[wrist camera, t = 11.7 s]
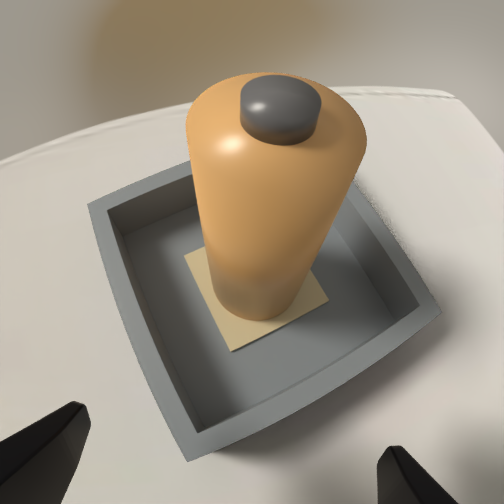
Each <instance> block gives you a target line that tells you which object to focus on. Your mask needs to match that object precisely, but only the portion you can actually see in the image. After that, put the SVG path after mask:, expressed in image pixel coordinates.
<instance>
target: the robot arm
mask: <svg viewBox="0 0 504 504" xmlns="http://www.w3.org/2000/svg"><path fill="white" fill-rule="evenodd" d="M90 427H91V421H90V418H89V414H88V411H87V408H86V406H85V405H84V404H82V403H79V402H76V401H72V402H70V403H68V404H66V405H64V406H63V407H61V408H59V409H58V410H56V411H54V412H52V413H51V414H49V415H47V416H45V417H44V418H42V419H40V420H38V421H37V422H35V423H33V424H31V425H30V426H28V427H26V428H24V429H22V430H21V431H19V432H17V433H15V434H13V435H12V436H10V437H8V438H6V439H4V440H3V441H1V442H0V504H61V502H62V500H63V498H64V495H65V493H66V491H67V489H68V486H69V484H70V482H71V480H72V478H73V475H74V473H75V471H76V469H77V466H78V464H79V461H80V458H81V454H82V451H83V448H84V445H85V442H86V439H87V436H88V433H89V430H90ZM377 488H378V504H458V503H457V502H456V501H455V500H454V499H453V498H452V497H451V496H450V495H449V494H448V493H447V492H446V491H445V490H444V489H443V488H442V487H441V486H440V485H439V484H438V483H437V482H436V481H435V480H434V479H433V478H432V477H431V476H430V475H429V474H428V473H427V472H426V470H425V469H424V468H423V467H422V466H421V465H420V464H419V463H418V462H417V461H416V460H415V459H414V458H413V457H412V456H411V455H410V454H409V453H408V452H407V451H406V450H405V449H404V448H403V447H402V446H399V445H398V446H389V447H387V449H386V450H385V452H384V453H383V455H382V456H381V458H380V459H379V461H378V463H377Z"/></svg>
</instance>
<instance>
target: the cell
mask: <svg viewBox="0 0 504 504" xmlns="http://www.w3.org/2000/svg"><path fill="white" fill-rule="evenodd" d="M186 135H187V142H188V149H189V155H190V162H191V168H192V174H193V180H194V186H195V193H196V198H197V204H198V210H199V216H200V222H201V227H202V233H203V238H204V244H205V249H206V255H207V260H208V265H209V270H210V276H211V281H212V286H213V290H214V293H215V295H216V297H217V299H218V301H219V302H220V303H221V305H222V306H223V307H224V308H225V309H226V310H228V311H229V312H230V313H232V314H233V315H235V316H237V317H240V318H242V319H247V320H253V321H260V320H267V319H270V318H273V317H275V316H278V315H279V314H281V313H283V312H284V311H285V310H286V309H287V308H288V307H289V306H290V305H291V304H292V302H293V301H294V299H295V297H296V295H297V294H298V292H299V290H300V288H301V286H302V284H303V282H304V280H305V278H306V276H307V274H308V272H309V270H310V268H311V266H312V264H313V262H314V260H315V258H316V256H317V254H318V252H319V250H320V248H321V246H322V244H323V242H324V240H325V238H326V236H327V234H328V232H329V230H330V228H331V226H332V224H333V222H334V219H335V217H336V215H337V213H338V211H339V209H340V207H341V205H342V203H343V200H344V198H345V196H346V194H347V192H348V190H349V187H350V185H351V183H352V181H353V179H354V176H355V174H356V172H357V170H358V168H359V165H360V163H361V161H362V159H363V156H364V154H365V150H366V146H367V137H366V132H365V128H364V125H363V123H362V121H361V119H360V117H359V115H358V114H357V113H356V111H355V110H354V109H353V108H352V106H351V105H350V104H349V103H348V102H347V101H345V100H344V99H343V98H342V97H341V96H339V95H338V94H337V93H335V92H334V91H332V90H330V89H329V88H327V87H325V86H323V85H321V84H319V83H316V82H314V81H311V80H308V79H306V78H302V77H298V76H294V75H289V74H282V73H266V72H265V73H250V74H244V75H239V76H235V77H232V78H228V79H226V80H223V81H221V82H219V83H217V84H215V85H213V86H211V87H210V88H209V89H207V90H206V91H204V92H203V93H202V94H201V95H200V96H199V97H198V98H197V99H196V100H195V101H194V103H193V104H192V106H191V108H190V109H189V112H188V115H187V119H186Z"/></svg>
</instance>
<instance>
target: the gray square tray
mask: <svg viewBox="0 0 504 504" xmlns="http://www.w3.org/2000/svg"><path fill="white" fill-rule="evenodd" d="M87 205H88V209H89V213H90V217H91V221H92V225H93V229H94V233H95V236H96V240H97V244H98V247H99V251H100V254H101V257H102V261H103V264H104V267H105V271H106V274H107V277H108V280H109V283H110V286H111V289H112V292H113V295H114V298H115V301H116V304H117V307H118V310H119V313H120V316H121V318H122V321H123V324H124V326H125V329H126V332H127V334H128V337H129V340H130V342H131V345H132V347H133V350H134V352H135V355H136V357H137V359H138V362H139V364H140V367H141V369H142V371H143V374H144V376H145V378H146V381H147V383H148V385H149V387H150V389H151V392H152V394H153V396H154V398H155V400H156V402H157V405H158V407H159V409H160V411H161V413H162V415H163V417H164V419H165V421H166V423H167V425H168V427H169V429H170V431H171V433H172V435H173V437H174V439H175V441H176V442H177V444H178V446H179V448H180V450H181V452H182V454H183V455H184V457H185V459H186V461H187V462H189V461H192V460H194V459H197V458H199V457H202V456H204V455H207V454H209V453H212V452H214V451H216V450H219V449H221V448H223V447H226V446H228V445H230V444H232V443H234V442H237V441H239V440H241V439H243V438H245V437H247V436H249V435H252V434H254V433H256V432H258V431H260V430H262V429H264V428H266V427H268V426H270V425H272V424H274V423H276V422H277V421H279V420H281V419H283V418H285V417H287V416H289V415H291V414H293V413H294V412H296V411H298V410H300V409H302V408H303V407H305V406H307V405H309V404H310V403H312V402H314V401H316V400H317V399H319V398H321V397H322V396H324V395H326V394H327V393H329V392H331V391H332V390H334V389H336V388H337V387H339V386H340V385H342V384H344V383H345V382H347V381H348V380H350V379H352V378H353V377H355V376H356V375H358V374H359V373H361V372H362V371H364V370H365V369H367V368H368V367H370V366H371V365H373V364H374V363H376V362H377V361H378V360H380V359H381V358H383V357H384V356H386V355H387V354H388V353H390V352H391V351H393V350H394V349H395V348H397V347H398V346H399V345H401V344H402V343H403V342H405V341H406V340H407V339H409V338H410V337H411V336H413V335H414V334H415V333H417V332H418V331H419V330H420V329H422V328H423V327H424V326H426V325H427V324H428V323H429V322H431V321H432V320H433V319H434V318H435V317H437V316H438V315H439V314H440V313H442V311H441V310H440V308H439V306H438V304H437V303H436V301H435V299H434V298H433V296H432V295H431V293H430V291H429V290H428V288H427V286H426V285H425V283H424V282H423V280H422V278H421V277H420V275H419V274H418V272H417V271H416V269H415V268H414V266H413V265H412V263H411V261H410V260H409V258H408V257H407V255H406V254H405V252H404V251H403V250H402V248H401V247H400V245H399V244H398V242H397V241H396V239H395V238H394V236H393V235H392V234H391V232H390V231H389V229H388V228H387V227H386V225H385V224H384V222H383V221H382V220H381V218H380V217H379V215H378V214H377V213H376V211H375V210H374V209H373V207H372V206H371V205H370V203H369V202H368V201H367V199H366V198H365V197H364V195H363V194H362V193H361V192H360V190H359V189H358V188H357V186H356V185H355V184H354V183H353V181H352V183H351V185H350V187H349V190H348V192H347V194H346V196H345V198H344V200H343V203H342V205H341V207H340V209H339V211H338V213H337V215H336V217H335V219H334V222H333V224H332V226H331V228H330V230H329V232H328V234H327V236H326V238H325V240H324V242H323V244H322V246H321V248H320V250H319V252H318V254H317V256H316V258H315V260H314V262H313V264H312V266H311V268H310V270H309V272H308V274H307V276H306V278H305V280H304V282H303V284H302V286H301V288H300V290H299V292H298V294H297V295H296V297H295V299H294V301H293V302H292V304H291V305H290V306H289V307H288V308H287V309H286V310H285V311H284V312H283V313H281V314H279V315H278V316H275V317H273V318H270V319H267V320H260V321H253V320H247V319H242V318H240V317H237V316H235V315H233V314H232V313H230V312H229V311H228V310H226V309H225V308H224V307H223V306H222V305H221V303H220V302H219V301H218V299H217V297H216V295H215V293H214V290H213V286H212V281H211V276H210V270H209V265H208V260H207V255H206V249H205V244H204V238H203V233H202V227H201V222H200V216H199V210H198V204H197V198H196V193H195V186H194V180H193V174H192V168H191V162H190V161H187V162H184V163H182V164H179V165H177V166H174V167H172V168H169V169H166V170H164V171H161V172H159V173H157V174H154V175H152V176H149V177H147V178H144V179H142V180H140V181H137V182H135V183H133V184H130V185H128V186H126V187H124V188H121V189H119V190H117V191H115V192H112V193H110V194H108V195H106V196H104V197H101V198H99V199H97V200H95V201H93V202H91V203H89V204H87Z"/></svg>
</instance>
